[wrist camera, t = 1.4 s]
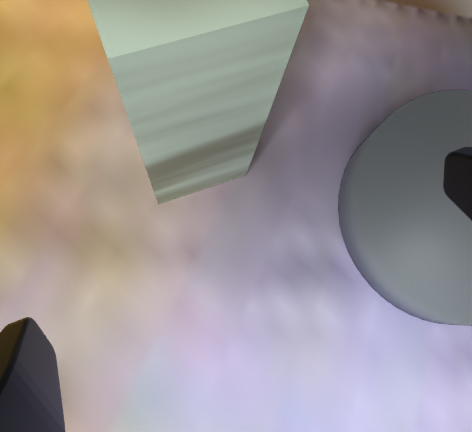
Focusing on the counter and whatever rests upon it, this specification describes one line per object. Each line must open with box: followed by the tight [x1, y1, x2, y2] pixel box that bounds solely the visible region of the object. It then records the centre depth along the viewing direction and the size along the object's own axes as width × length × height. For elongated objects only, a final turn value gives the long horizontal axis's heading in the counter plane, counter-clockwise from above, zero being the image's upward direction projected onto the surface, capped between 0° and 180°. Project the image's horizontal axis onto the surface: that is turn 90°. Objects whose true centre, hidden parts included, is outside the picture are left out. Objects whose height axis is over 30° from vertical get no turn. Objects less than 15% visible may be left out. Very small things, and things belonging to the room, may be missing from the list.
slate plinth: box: [338, 90, 472, 326], centre depth 22 cm, size 12×12×3 cm
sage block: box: [87, 0, 309, 204], centre depth 16 cm, size 5×5×13 cm
